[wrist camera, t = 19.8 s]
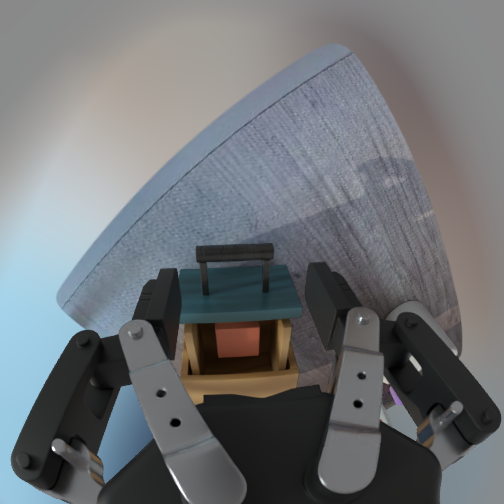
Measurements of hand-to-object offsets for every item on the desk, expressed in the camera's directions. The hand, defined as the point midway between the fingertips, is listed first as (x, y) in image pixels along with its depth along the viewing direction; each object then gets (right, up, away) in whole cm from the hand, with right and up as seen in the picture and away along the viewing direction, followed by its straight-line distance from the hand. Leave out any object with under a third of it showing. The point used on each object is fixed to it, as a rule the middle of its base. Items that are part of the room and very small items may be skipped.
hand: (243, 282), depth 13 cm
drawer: (-2, -4, +19) cm, 19 cm away
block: (-1, -6, +19) cm, 20 cm away
